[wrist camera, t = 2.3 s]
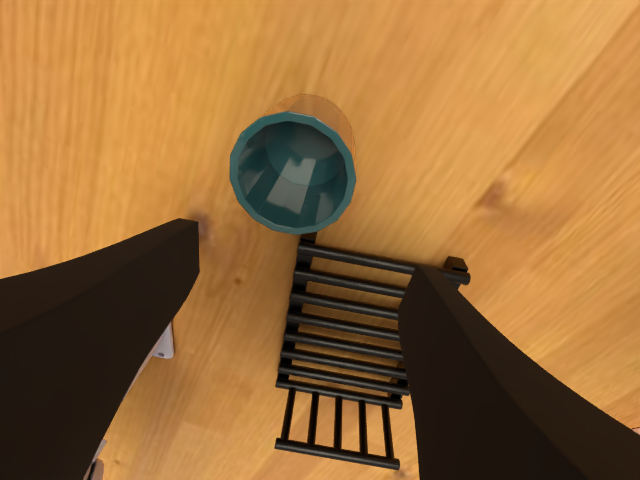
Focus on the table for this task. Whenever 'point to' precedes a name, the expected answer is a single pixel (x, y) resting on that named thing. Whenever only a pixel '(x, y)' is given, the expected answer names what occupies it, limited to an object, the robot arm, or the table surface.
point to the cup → (295, 165)
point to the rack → (346, 348)
